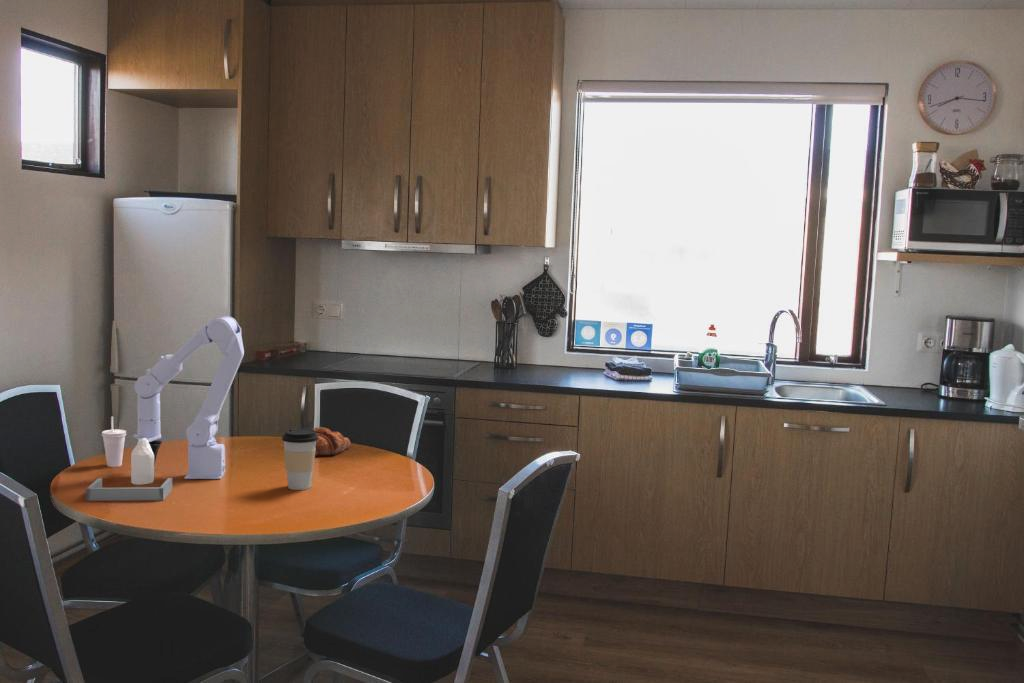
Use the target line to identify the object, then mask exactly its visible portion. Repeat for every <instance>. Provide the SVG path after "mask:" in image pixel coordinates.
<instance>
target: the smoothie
mask: <svg viewBox="0 0 1024 683" xmlns="http://www.w3.org/2000/svg"><path fill="white" fill-rule="evenodd" d="M110 427H111V429H107V430H103V431H102V432H101V437H102V439H103V447H104V452H105V460H106V465H107V467H110V468H117V467H121V466H122V464H123V456H124V450H125V449H124V448H125V442H126V440H125V439H126V436H127V430H125V429H118V428H117V429H116V428H115V429H114V416H110Z"/></svg>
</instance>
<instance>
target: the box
mask: <svg viewBox="0 0 1024 683" xmlns="http://www.w3.org/2000/svg"><path fill="white" fill-rule="evenodd" d="M172 491H173V478H172V477H168V478H167V479H166V480H164V482H163V483H162V484H161V486H159V487H157V486H156V487H153V486H152V487H151V486H149V487H142V486H141V487H140V486H139V487H136V486H134V487H103V477H100V478H99V477H98V478H97V479H95V480H94V481H93V482H92V483H91V484H89V486H87V487H86V488H85V501H86V502H88V501H89V502H95V501H96V502H97V501H98V502H101V501H102V502H104V501H105V502H106V501H107V502H108V501H111V502H113V501H114V502H115V501H116V502H117V501H118V502H119V501H121V502H122V501H127V502H129V501H164V500H165V499H166V498H167V497H168V495H169V494H170V493H171V492H172Z"/></svg>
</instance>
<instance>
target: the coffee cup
mask: <svg viewBox="0 0 1024 683" xmlns="http://www.w3.org/2000/svg"><path fill="white" fill-rule="evenodd" d="M318 439H319V438H318V435H317V434H316V431H315V430H312V429H311V428H302V427H301V428H300V427H299V428H289V429H287V430H285V431H284V434H283V435H282V437H281V441H283V445H284V447H283V448H284V449H283V452H284V453H283V454H284V464H285V471H286V476H287V477H286V478H287V488H288V489H289V490H293V491H304V490H309V489H310V488H311V487H312V479H313V471H314V467H315V466H314V465H315V458H316V457H315V450H316V448H315V445H316V441H317V440H318Z"/></svg>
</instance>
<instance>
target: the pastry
mask: <svg viewBox="0 0 1024 683" xmlns="http://www.w3.org/2000/svg"><path fill="white" fill-rule="evenodd" d="M312 430H315V431H316V434H317V435H318V438H319V439H318V440H317V441H316V445H315V448H316V450H315V458H316V457H327V456H330V457H331V456H337V455H339V454H342V453H343V452H344V451H347V450H349V449H350V447H351V445H352V444H351V441H350V439H349V438H348V437H345V436H344V435H343V434H342V433H341V432H339V431H331V429H329V428H327V427H323V426H318V427H314V428H313V429H312Z"/></svg>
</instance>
